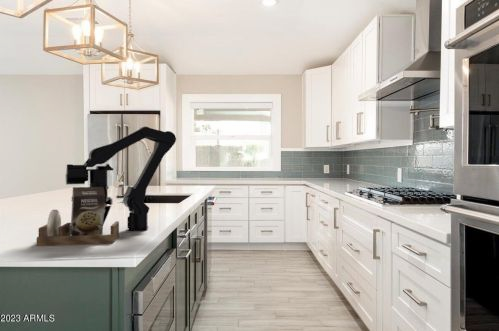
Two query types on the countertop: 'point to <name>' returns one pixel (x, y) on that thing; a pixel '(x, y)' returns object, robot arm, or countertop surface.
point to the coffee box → (87, 211)
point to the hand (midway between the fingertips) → (99, 228)
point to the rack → (62, 234)
